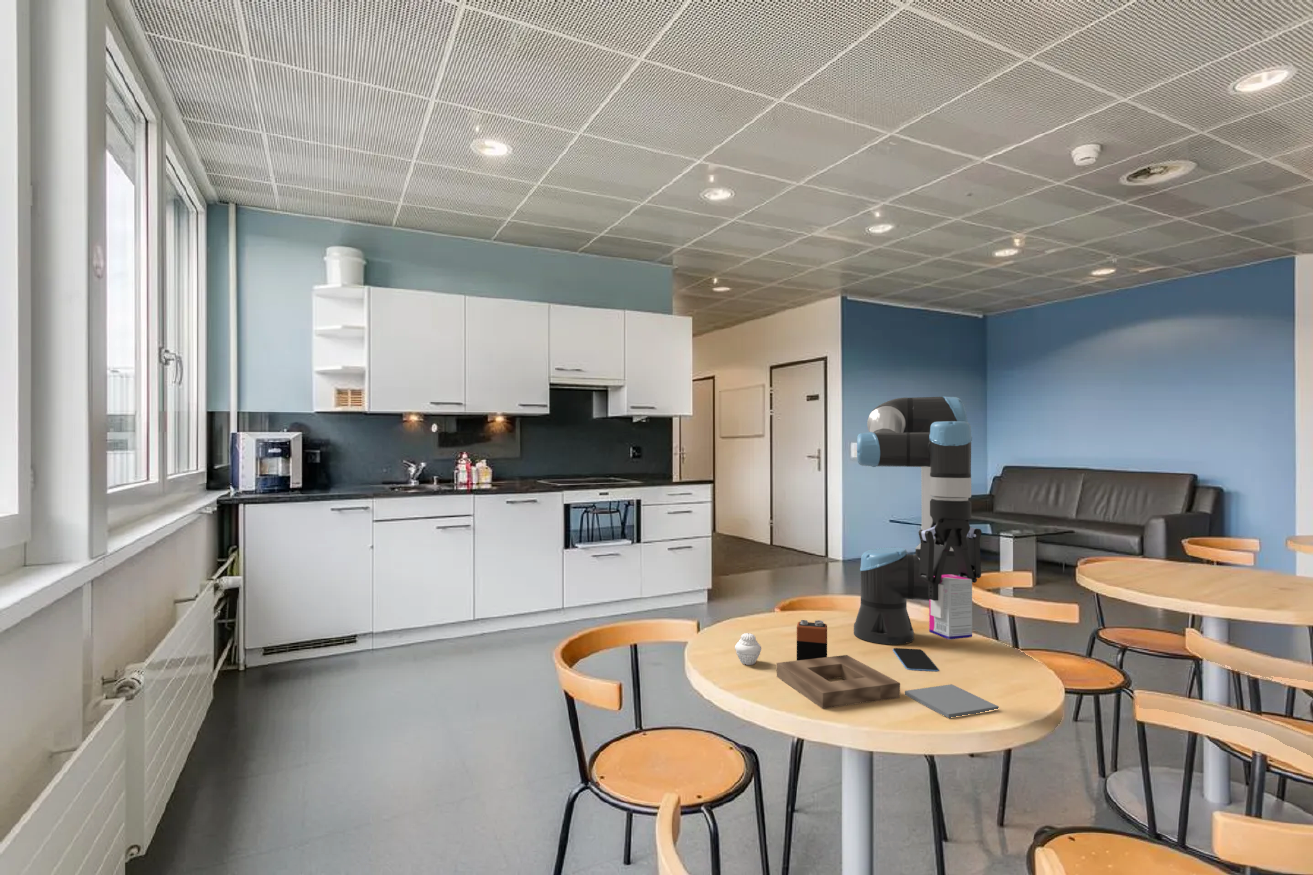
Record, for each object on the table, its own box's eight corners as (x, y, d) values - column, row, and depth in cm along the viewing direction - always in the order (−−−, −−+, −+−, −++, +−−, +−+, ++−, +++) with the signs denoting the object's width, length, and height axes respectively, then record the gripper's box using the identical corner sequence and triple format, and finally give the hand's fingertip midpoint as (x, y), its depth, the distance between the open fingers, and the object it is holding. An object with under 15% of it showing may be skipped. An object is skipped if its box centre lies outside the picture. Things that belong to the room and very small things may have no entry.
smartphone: (906, 668, 145) (891, 647, 160) (906, 672, 145) (891, 650, 160) (940, 669, 144) (922, 648, 159) (940, 673, 144) (922, 652, 159)
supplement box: (973, 637, 125) (973, 578, 125) (948, 640, 123) (948, 580, 124) (952, 629, 131) (951, 573, 131) (927, 631, 129) (927, 574, 129)
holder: (846, 668, 146) (846, 654, 146) (899, 697, 129) (899, 682, 129) (776, 676, 141) (776, 662, 141) (822, 708, 124) (822, 693, 124)
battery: (826, 668, 146) (826, 624, 146) (796, 665, 148) (796, 622, 148) (827, 662, 150) (827, 619, 150) (797, 659, 152) (797, 617, 152)
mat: (951, 687, 135) (951, 684, 135) (998, 710, 123) (998, 706, 123) (904, 694, 131) (904, 690, 131) (948, 718, 119) (948, 714, 119)
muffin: (730, 660, 151) (730, 630, 151) (753, 657, 153) (753, 627, 154) (742, 668, 146) (742, 637, 146) (766, 665, 148) (766, 635, 148)
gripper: (973, 496, 134) (973, 607, 134) (898, 498, 128) (898, 614, 128) (1002, 499, 127) (1002, 616, 127) (925, 501, 121) (925, 624, 121)
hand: (950, 614), depth 127 cm, fingers closed on supplement box, 6 cm apart
